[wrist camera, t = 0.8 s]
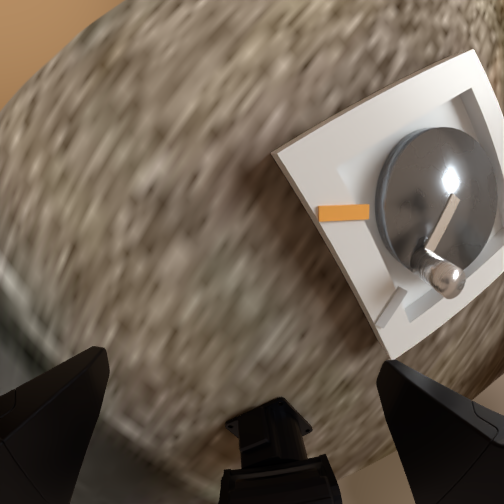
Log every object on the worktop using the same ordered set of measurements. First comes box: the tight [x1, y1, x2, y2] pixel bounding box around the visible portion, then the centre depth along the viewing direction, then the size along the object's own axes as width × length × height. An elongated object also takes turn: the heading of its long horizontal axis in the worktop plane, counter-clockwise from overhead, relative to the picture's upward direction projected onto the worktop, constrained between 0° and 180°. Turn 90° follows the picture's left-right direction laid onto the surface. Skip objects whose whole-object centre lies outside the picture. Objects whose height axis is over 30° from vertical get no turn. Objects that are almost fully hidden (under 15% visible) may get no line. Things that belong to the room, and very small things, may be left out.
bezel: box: [271, 49, 504, 360], centre depth 20 cm, size 18×18×3 cm
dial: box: [375, 127, 498, 299], centre depth 17 cm, size 11×11×6 cm
